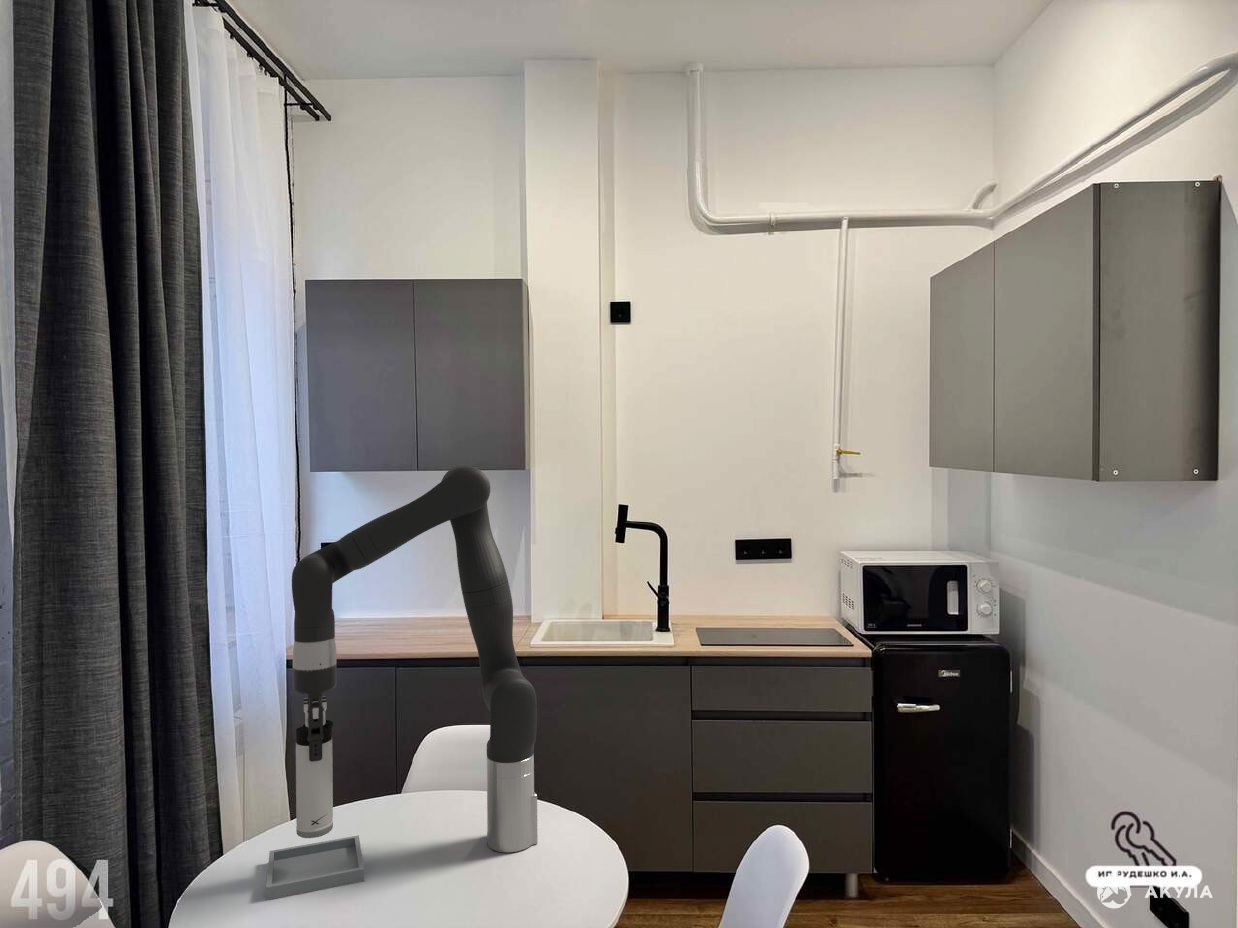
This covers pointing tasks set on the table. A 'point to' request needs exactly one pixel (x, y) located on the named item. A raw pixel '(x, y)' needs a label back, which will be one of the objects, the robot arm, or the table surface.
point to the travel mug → (314, 785)
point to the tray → (314, 867)
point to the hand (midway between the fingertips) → (315, 753)
